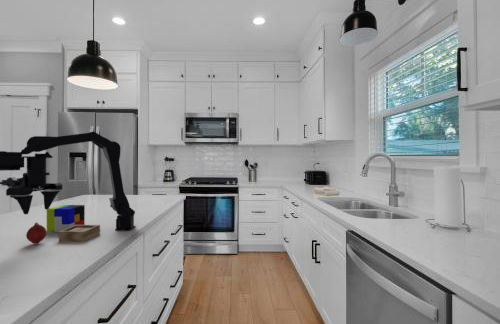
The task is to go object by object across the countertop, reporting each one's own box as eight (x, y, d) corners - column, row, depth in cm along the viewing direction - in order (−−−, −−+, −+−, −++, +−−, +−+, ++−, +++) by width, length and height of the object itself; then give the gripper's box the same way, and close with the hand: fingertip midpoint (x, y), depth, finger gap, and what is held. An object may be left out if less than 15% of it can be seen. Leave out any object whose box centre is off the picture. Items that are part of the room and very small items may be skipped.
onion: (50, 242, 97) (50, 221, 97) (33, 247, 92) (33, 225, 92) (40, 240, 99) (39, 220, 99) (22, 245, 94) (22, 223, 94)
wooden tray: (99, 233, 109) (99, 225, 109) (84, 241, 99) (84, 231, 99) (76, 233, 109) (76, 224, 109) (58, 241, 99) (58, 231, 99)
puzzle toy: (69, 232, 112) (69, 209, 112) (46, 231, 112) (46, 209, 112) (84, 226, 122) (84, 205, 121) (63, 225, 122) (63, 204, 122)
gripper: (36, 169, 105) (36, 206, 105) (-11, 171, 86) (-11, 217, 87) (63, 169, 105) (63, 207, 105) (22, 171, 86) (22, 217, 86)
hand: (36, 211), depth 96 cm, fingers open, 9 cm apart
